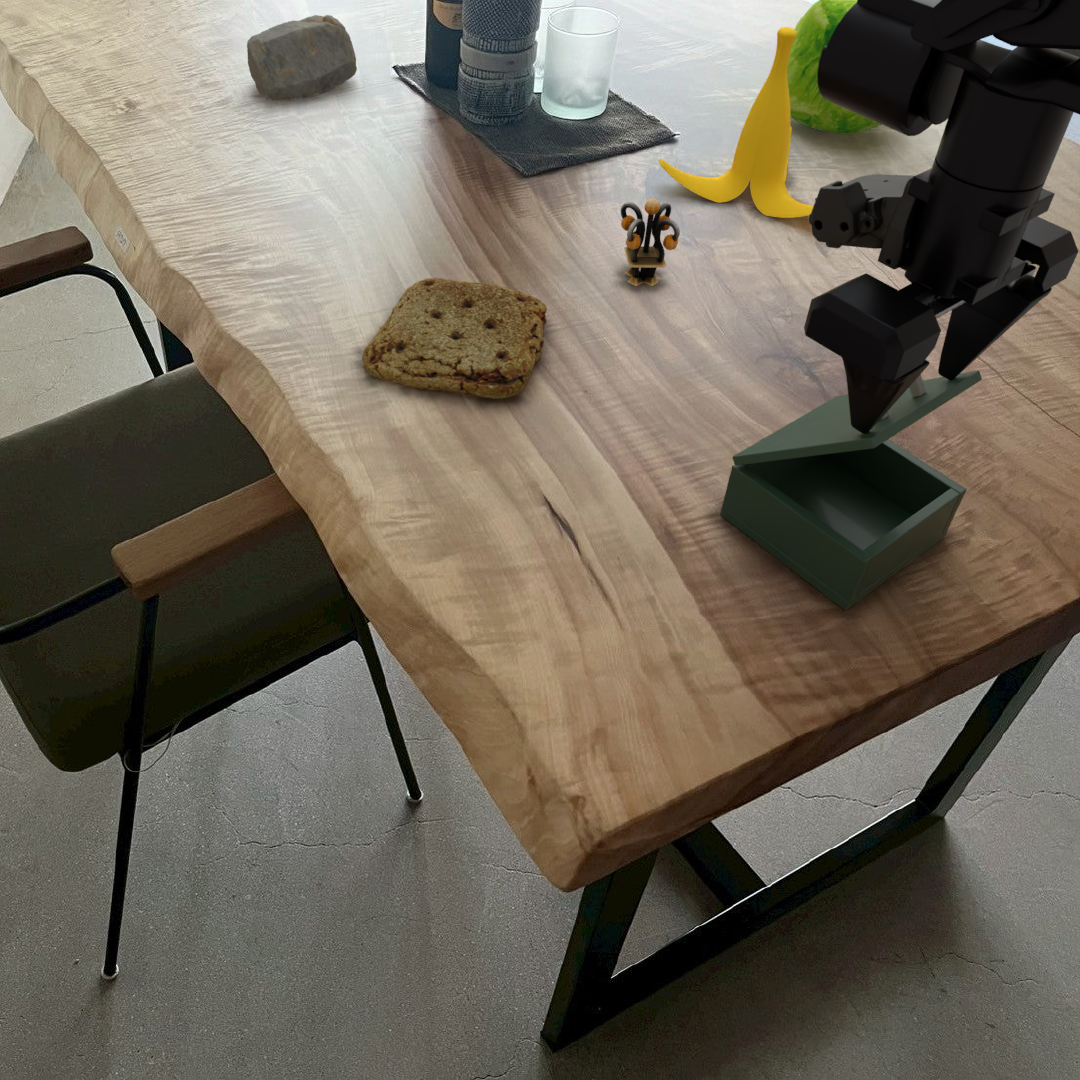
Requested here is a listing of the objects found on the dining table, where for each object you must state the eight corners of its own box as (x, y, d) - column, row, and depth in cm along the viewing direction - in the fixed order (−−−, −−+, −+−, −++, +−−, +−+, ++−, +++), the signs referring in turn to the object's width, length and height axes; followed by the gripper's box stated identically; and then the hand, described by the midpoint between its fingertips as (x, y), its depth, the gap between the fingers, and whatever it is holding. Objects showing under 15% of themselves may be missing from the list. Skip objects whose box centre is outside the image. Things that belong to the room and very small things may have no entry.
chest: (944, 537, 76) (967, 489, 73) (845, 611, 71) (865, 562, 67) (820, 453, 82) (836, 404, 79) (719, 514, 77) (731, 465, 73)
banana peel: (649, 189, 111) (672, 24, 99) (778, 150, 119) (813, -7, 107) (757, 261, 102) (796, 88, 90) (887, 213, 110) (940, 49, 98)
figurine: (667, 263, 101) (672, 184, 95) (676, 291, 97) (682, 211, 91) (618, 267, 100) (620, 188, 94) (625, 295, 97) (627, 215, 91)
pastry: (497, 273, 98) (497, 245, 96) (599, 373, 88) (603, 344, 86) (323, 320, 91) (320, 290, 89) (413, 435, 81) (412, 404, 79)
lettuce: (832, 85, 134) (893, -20, 124) (893, 180, 123) (966, 73, 113) (735, 60, 129) (791, -52, 119) (790, 158, 117) (857, 43, 107)
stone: (271, 111, 119) (262, 39, 114) (242, 85, 124) (232, 15, 118) (367, 90, 125) (363, 21, 119) (336, 66, 129) (331, -2, 123)
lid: (982, 379, 68) (960, 308, 67) (874, 448, 62) (848, 372, 61) (838, 404, 78) (817, 343, 77) (734, 466, 73) (710, 400, 72)
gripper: (960, 78, 64) (888, 299, 75) (759, 155, 55) (711, 393, 66) (1131, 144, 58) (1025, 373, 69) (936, 242, 49) (851, 487, 60)
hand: (903, 402), depth 67 cm, fingers open, 9 cm apart
